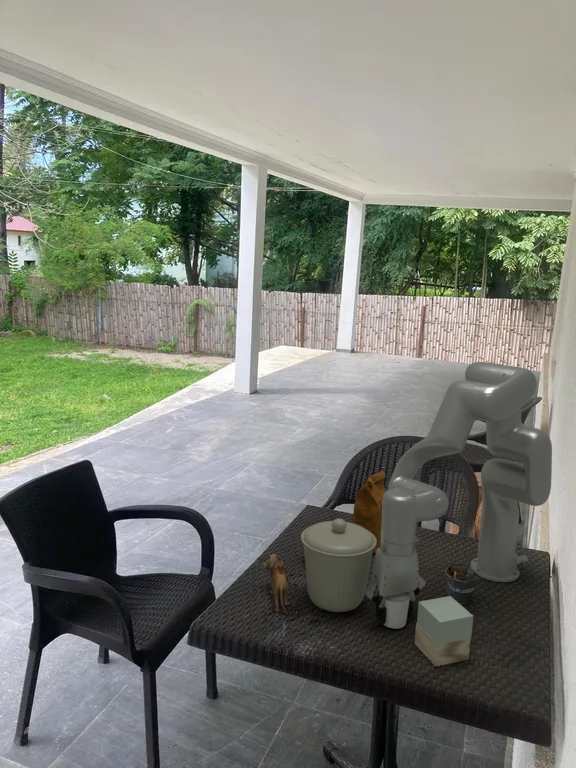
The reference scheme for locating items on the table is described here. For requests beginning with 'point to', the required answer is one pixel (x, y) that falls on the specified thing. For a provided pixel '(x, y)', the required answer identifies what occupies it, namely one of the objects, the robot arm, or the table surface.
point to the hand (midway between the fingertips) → (393, 616)
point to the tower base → (441, 648)
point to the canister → (337, 563)
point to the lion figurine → (278, 580)
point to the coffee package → (370, 506)
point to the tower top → (444, 620)
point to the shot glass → (397, 610)
